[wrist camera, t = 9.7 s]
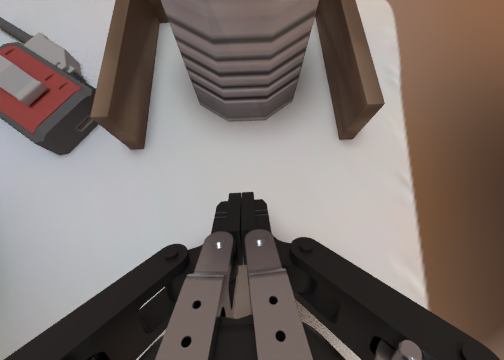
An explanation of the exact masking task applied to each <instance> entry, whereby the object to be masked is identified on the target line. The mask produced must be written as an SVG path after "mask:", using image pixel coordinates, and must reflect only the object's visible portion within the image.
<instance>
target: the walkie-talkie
mask: <svg viewBox="0 0 504 360" xmlns="http://www.w3.org/2000/svg"><path fill="white" fill-rule="evenodd" d="M0 28H1V29H3V30H4V31H6V32H7V33H9V34H11V35H12V36H14V37H15V38H17V39H19V40H20V41H22V42H23V43H25V44H24V45H22V44H20V43H19V42H15V43H7V44H3V45H2V46H1V47H0V118H1V119H3V120H5V122H7V123H9V125H11V126H13V128H15V129H17V131H19V132H21V134H23V135H25V137H27V138H29V139H30V140H31V141H33V142H34V143H35V144H37V145H39V146H41V147H43V148H45V149H48V150H50V151H52V152H54V153H56V154H58V155H62V154H68V153H70V152H71V151H72V150H73V149H74V148H75V147H76V146H77V145H78V144H79V143H80V142H81V141H82V140H83V139H84V138H85V137H86V136H87V135H88V134H89V133H90V132H91V131H92V130H93V129H94V128H95V127H96V126H97V125H98V123H97V122H96V121H94V120H93V119H92V118H91V117H90V116H91V111H92V107H93V102H94V98H95V93H96V89H95V88H93V87H92V86H90V85H89V84H87V83H86V82H84V81H83V79H82V78H83V76H82V75H81V71H80V65H79V63H78V62H77V61H76V60H75V59H74V58H73V57H72V56H71V55H70V54H69V53H68V52H67V51H66V50H65V49H64V48H62V47H60V46H59V45H57V44H55V43H54V42H52V41H50V40H49V39H48V38H47V37H46V36H45V35H43V34H41V33H38V34H37V35H35V36H30V35H29V34H27V33H26V32H24V31H22V30H21V29H19V28H17V27H16V26H14V25H12V24H11V23H9V22H7V21H6V20H4V19H2V18H1V17H0Z"/></svg>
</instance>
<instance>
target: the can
mask: <svg viewBox="0 0 504 360" xmlns="http://www.w3.org/2000/svg"><path fill="white" fill-rule="evenodd" d="M161 2H162V5H163V7H164V10H165V13H166V15H167V18H168V21H169V23H170V26H171V28H172V31H173V34H174V36H175V39H176V42H177V44H178V47H179V50H180V52H181V55H182V58H183V60H184V63H185V66H186V68H187V71H188V73H189V76H190V79H191V81H192V84H193V87H194V89H195V92H196V95H197V97H198V100H199V103H200V105H202V106H204V107H205V108H207V109H209V110H210V111H212V112H214V113H215V114H217V115H219V116H220V117H222V118H224V119H226V120H227V121H253V120H266V119H267V118H269V117H270V116H272V115H273V114H274V113H276V112H277V111H279V110H280V109H282V108H283V107H284V106H286V105H287V104H289V103H290V102H292V100H293V97H294V93H295V89H296V85H297V82H298V78H299V74H300V71H301V67H302V63H303V59H304V55H305V51H306V48H307V44H308V40H309V36H310V32H311V29H312V25H313V21H314V17H315V13H316V10H317V6H318V2H319V0H161Z"/></svg>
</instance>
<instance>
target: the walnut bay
mask: <svg viewBox="0 0 504 360" xmlns="http://www.w3.org/2000/svg"><path fill="white" fill-rule="evenodd" d="M315 16H316V21H317V26H318V31H319V36H320V41H321V46H322V51H323V57H324V62H325V67H326V72H327V77H328V82H329V87H330V93H331V98H332V103H333V108H334V113H335V118H336V123H337V129H338V134H339V139H340V140H341V139H353V138H354V137H355V136H356V135H357V134H358V133H359V131H360V130H361V129H362V128H363V127H364V126H365V125H366V124H367V123H368V122H369V120H370V119H371V118H372V117H373V116H374V115H375V114H376V113H377V112H378V111H379V109H380V108H381V107H382V106H383V105H384V104H385V103H384V99H383V96H382V92H381V89H380V85H379V82H378V78H377V75H376V71H375V67H374V64H373V60H372V57H371V53H370V50H369V46H368V43H367V39H366V36H365V32H364V29H363V25H362V22H361V18H360V15H359V11H358V8H357V4H356V1H355V0H319V2H318V6H317V10H316V13H315ZM159 22H169V21H168V18H167V15H166V13H165V10H164V7H163V5H162V2H161V0H116V1H115V6H114V11H113V15H112V20H111V24H110V29H109V33H108V38H107V43H106V47H105V52H104V56H103V61H102V66H101V70H100V75H99V79H98V84H97V88H96V93H95V98H94V102H93V107H92V111H91V116H90V117H91V118H92V119H93V120H94V121H96V122H97V123H98V124H99V125H101V126H102V127H103V128H105V129H106V130H107V131H108V132H110V133H111V134H112V135H113V136H115V137H116V138H117V139H118V140H120V141H121V142H122V143H123V144H125V145H126V146H127V147H128V148H130V149H144V144H145V135H146V127H147V119H148V111H149V103H150V94H151V86H152V78H153V70H154V61H155V53H156V45H157V37H158V29H159Z"/></svg>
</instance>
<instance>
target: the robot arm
mask: <svg viewBox="0 0 504 360" xmlns="http://www.w3.org/2000/svg"><path fill="white" fill-rule="evenodd" d="M243 259H244V265H247V273H248V284H249V294H250V304H251V314H252V315H249V316H246V317H243V318H240V319H233V314H234V306H235V297H236V289H237V281H238V277H237V275H238V265H243ZM164 286H165V288H164V289H163V290H162V291H161V292H160V293H158V294H157V295H156V296H155V297H154V298H153V299H151V300H150V301H149V302H148V303H147V304H146V305H144V306H143V307H142V308H141V306H142V305H143V304H144V303H146V302H147V301H148V300H149V299H150V298H151V297H153V296H154V295H155V294H156V293H157V292H159V291H160V290H161V289H162V288H163V287H164ZM295 299H296V300H297V301H298V302H299V303H301V304H302V305H303V306H304V307H305V308H306V309H307V310H308V311H309V312H310V313H311V314H312V315H314V316H315V317H316V318H317V319H318V320H319V321H320V322H321V323H322V324H323V325H324V326H326V327H327V328H328V329H329V330H330V331H331V332H332V333H333V334H334V335H335V336H336V337H338V338H339V339H340V340H341V341H342V342H343V343H344V344H345V345H346V346H347V347H348V348H350V349H351V350H352V351H353V352H354V353H355V354H356V355H357V356H358V357H359V358H360V359H361V360H500V359H499V358H498V357H497V356H496V355H495V354H494V353H493V352H492V351H491V350H489V349H488V348H487V347H486V346H484V345H483V344H481V343H480V342H478V341H477V340H475V339H474V338H472V337H470V336H469V335H467V334H466V333H464V332H462V331H461V330H459V329H457V328H456V327H454V326H453V325H451V324H449V323H448V322H446V321H444V320H443V319H441V318H440V317H438V316H436V315H435V314H433V313H432V312H430V311H428V310H427V309H425V308H424V307H422V306H420V305H419V304H417V303H415V302H414V301H412V300H411V299H409V298H407V297H406V296H404V295H403V294H401V293H399V292H398V291H396V290H394V289H393V288H391V287H390V286H388V285H386V284H385V283H383V282H382V281H380V280H378V279H377V278H375V277H373V276H372V275H370V274H369V273H367V272H365V271H364V270H362V269H361V268H359V267H357V266H356V265H354V264H352V263H351V262H349V261H348V260H346V259H344V258H343V257H341V256H340V255H338V254H336V253H335V252H333V251H331V250H330V249H328V248H327V247H325V246H323V245H322V244H320V243H319V242H317V241H315V240H313V239H311V238H307V237H300V238H297V239H295V240H293V241H292V243H286V242H282V241H279V240H277V239H276V238H275V237H274V236H273V235H272V233H271V228H270V222H269V216H268V210H267V204H266V203H265V202H264V201H263V200H262V199H260V200H254V193H253V192H243V193H242V197H241V193H229V199H228V201H224V202H220V204H219V205H218V206H217V208H216V213H215V218H214V222H213V227H212V232H211V234H210V235H209V236H208V237H207V238H206V239H205V241H204V244H203V245H201V246H199V247H196V248H193V249H189V250H187V248H186V247H185V246H184V245H182V244H172V245H169V246H166V247H165V248H163V249H162V250H160V251H159V252H157V253H156V254H154V255H153V256H151V257H150V258H149V259H147V260H146V261H144V262H143V263H141V264H140V265H139V266H137V267H136V268H134V269H133V270H131V271H130V272H129V273H127V274H126V275H124V276H123V277H121V278H120V279H119V280H117V281H116V282H114V283H113V284H111V285H110V286H109V287H107V288H106V289H104V290H103V291H101V292H100V293H99V294H97V295H96V296H94V297H93V298H91V299H90V300H88V301H87V302H86V303H84V304H83V305H81V306H80V307H78V308H77V309H76V310H74V311H73V312H71V313H70V314H68V315H67V316H66V317H64V318H63V319H61V320H60V321H58V322H57V323H56V324H54V325H53V326H51V327H50V328H48V329H47V330H46V331H44V332H43V333H41V334H40V335H38V336H37V337H36V338H34V339H33V340H31V341H30V342H28V343H27V344H25V345H24V346H23V347H21V348H20V349H18V350H17V351H15V352H14V353H13V354H11V355H10V356H8V357H7V358H5V359H4V360H136V359H137V358H138V357H139V356H140V355H141V354H142V353H143V352H144V351H145V350H146V349H147V348H148V347H149V346H150V345H151V344H152V343H153V341H154V340H155V339H156V338H157V337H158V336H159V335H160V334H161V333H162V332H163V331H164V330H165V329H166V328H167V329H166V332H165V334H164V335H163V336H162V337H160V338H159V339H158V340H157V341H156V342H155V343H154V344H153V345H152V346H151V347H150V348H149V349H148V350H147V351H146V352H145V353H144V354H143V355H142V356H141V358H140V359H139V360H346V359H345V358H344V357H343V356H342V355H341V354H340V353H339V352H338V351H337V350H336V349H335V348H334V347H333V346H332V345H331V344H330V343H329V342H328V341H327V340H326V339H325V338H324V337H323V336H322V335H321V334H320V333H319V332H317V331H316V330H315V329H314V328H312V327H311V326H309V325H308V324H306V323H304V322H302V321H301V318H300V315H299V311H298V308H297V305H296V301H295ZM140 308H141V309H140ZM139 309H140V310H139Z"/></svg>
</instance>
